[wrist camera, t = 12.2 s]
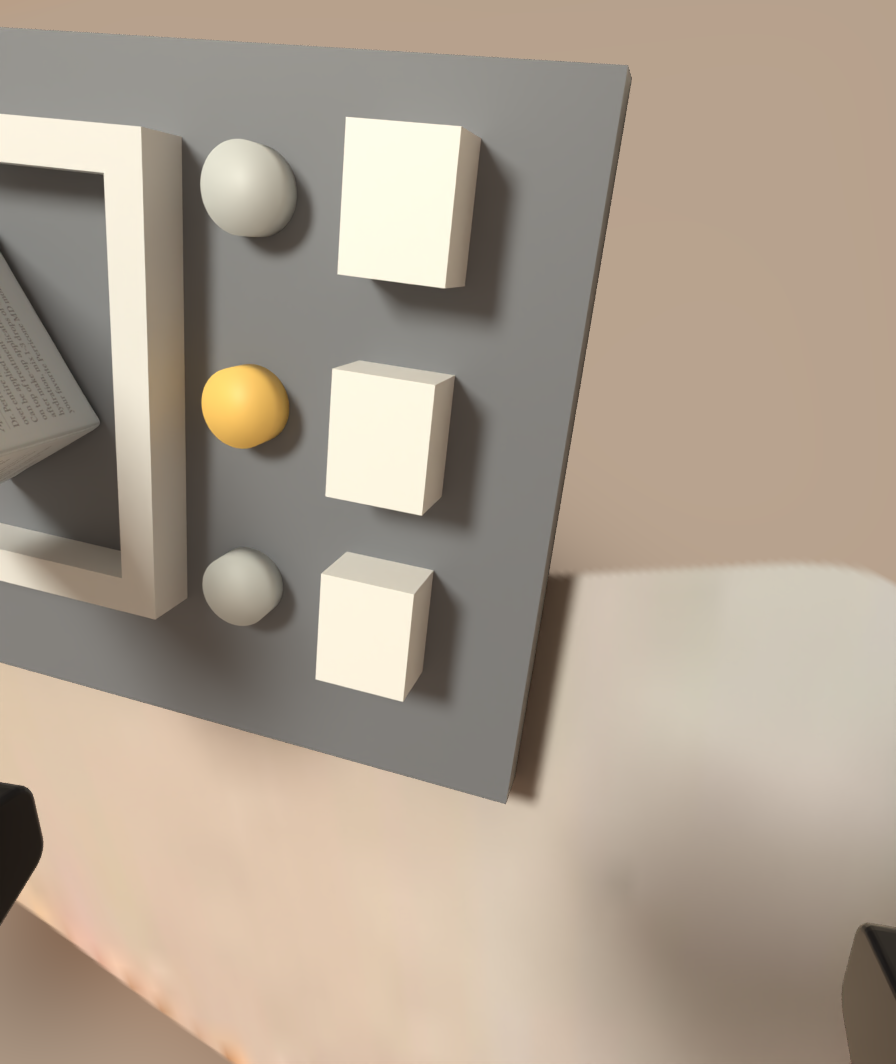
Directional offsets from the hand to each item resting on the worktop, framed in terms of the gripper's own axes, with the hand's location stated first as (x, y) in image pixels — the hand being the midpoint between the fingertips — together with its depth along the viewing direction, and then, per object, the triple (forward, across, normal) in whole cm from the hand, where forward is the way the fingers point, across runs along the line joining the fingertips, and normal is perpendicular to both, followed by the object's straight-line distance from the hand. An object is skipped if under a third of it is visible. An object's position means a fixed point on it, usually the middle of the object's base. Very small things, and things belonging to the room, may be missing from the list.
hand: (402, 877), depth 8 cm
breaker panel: (+14, +11, -2) cm, 18 cm away
